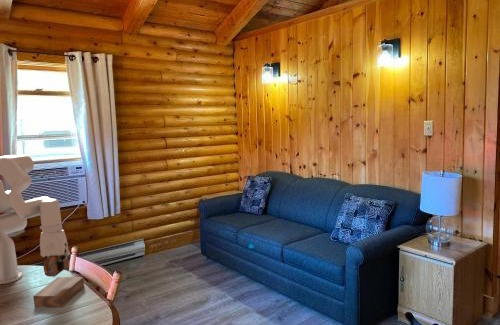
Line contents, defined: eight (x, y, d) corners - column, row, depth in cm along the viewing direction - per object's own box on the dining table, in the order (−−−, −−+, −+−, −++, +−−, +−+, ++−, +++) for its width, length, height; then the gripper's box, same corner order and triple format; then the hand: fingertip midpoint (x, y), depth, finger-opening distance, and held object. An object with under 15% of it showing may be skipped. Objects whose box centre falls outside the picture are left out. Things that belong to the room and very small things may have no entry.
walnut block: (34, 307, 166) (33, 296, 165) (59, 287, 184) (58, 277, 183) (62, 307, 165) (60, 296, 164) (84, 287, 182) (83, 277, 182)
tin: (50, 280, 165) (48, 260, 164) (43, 279, 165) (41, 260, 164) (70, 265, 180) (68, 247, 179) (63, 265, 180) (61, 247, 179)
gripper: (28, 231, 167) (34, 273, 170) (65, 230, 165) (70, 273, 168) (39, 226, 174) (44, 266, 177) (75, 225, 173) (80, 266, 175)
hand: (57, 269), depth 172 cm, fingers closed on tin, 2 cm apart
